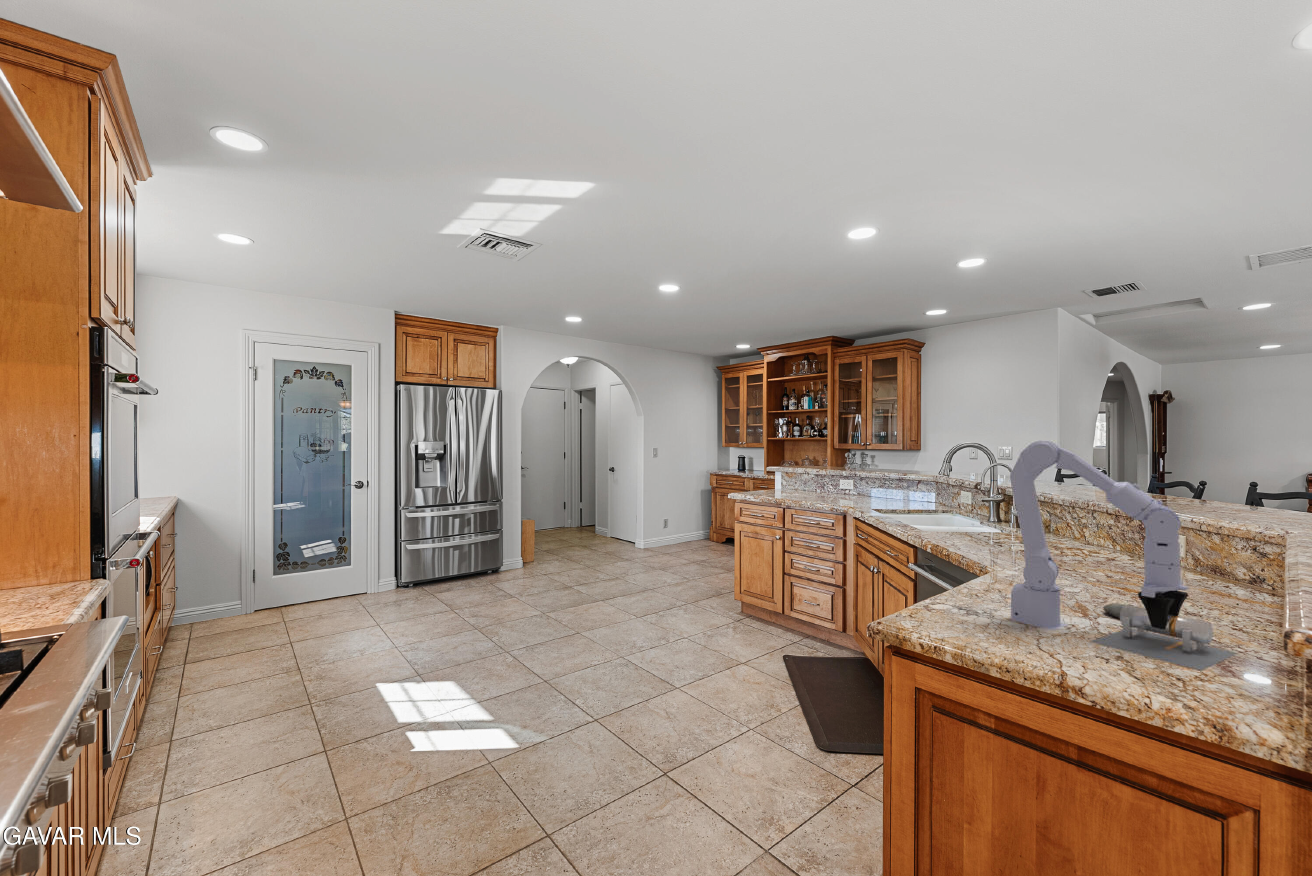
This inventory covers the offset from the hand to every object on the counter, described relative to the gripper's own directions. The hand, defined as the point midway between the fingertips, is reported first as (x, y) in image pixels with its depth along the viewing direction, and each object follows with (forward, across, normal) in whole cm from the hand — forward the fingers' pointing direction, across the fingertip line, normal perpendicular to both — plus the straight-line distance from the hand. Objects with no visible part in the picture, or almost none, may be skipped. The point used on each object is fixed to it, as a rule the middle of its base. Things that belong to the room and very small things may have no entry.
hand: (1163, 626), depth 119 cm
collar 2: (+3, 0, -5) cm, 6 cm away
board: (+4, -4, -1) cm, 6 cm away
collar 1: (+3, 0, +5) cm, 6 cm away
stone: (+5, +16, +9) cm, 19 cm away
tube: (+2, 0, 0) cm, 2 cm away
